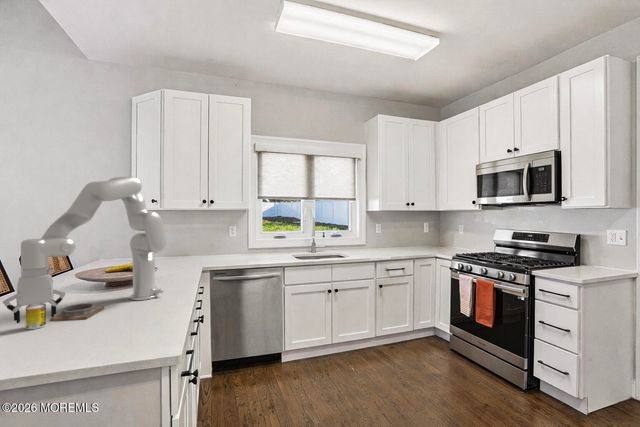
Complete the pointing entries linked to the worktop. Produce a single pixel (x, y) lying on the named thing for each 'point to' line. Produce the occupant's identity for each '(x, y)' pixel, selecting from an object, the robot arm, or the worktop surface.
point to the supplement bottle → (36, 316)
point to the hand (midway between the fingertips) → (35, 319)
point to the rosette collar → (77, 312)
